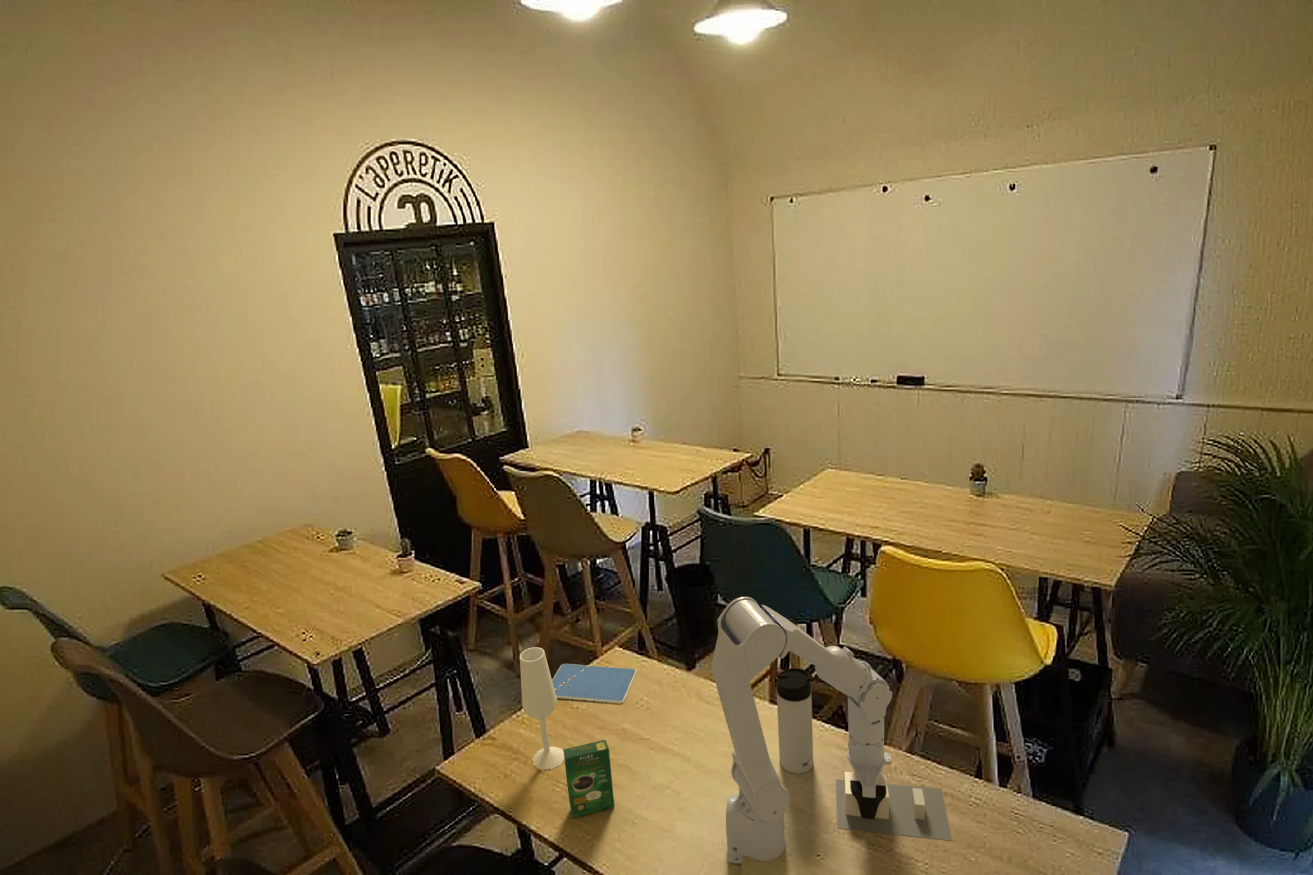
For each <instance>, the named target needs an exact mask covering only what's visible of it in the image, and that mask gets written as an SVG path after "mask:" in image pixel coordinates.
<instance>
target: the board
mask: <svg viewBox="0 0 1313 875" xmlns="http://www.w3.org/2000/svg"><path fill="white" fill-rule="evenodd" d="M887 785H888V793H889V819H881V818H875V819H866V818H862V817H861V816H852V815H846V806H845V779H839V778H835V797H836V802H835V803H836V829H840V830H841V829H842V830H848V831H849V830H850V831H857V832H858V831H859V832H867V833H875V834H878V833H879V834H886V835H895V836H903V837H914V838H924V839H931V840H932V839H933V840H938V841H939V840H940V841H941V840H942V841H949V842H952V841H953V839H952V838H953V837H952V833H951V828H950V823H949V819H948V814H947V810H946V804H945V799H944V795H943V791H942V788H936V787H935V788H934V787H925V786H924V787H923V786H914V785H913V786H912V785H903V784H893V783H887Z"/></svg>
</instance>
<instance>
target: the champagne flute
mask: <svg viewBox="0 0 1313 875" xmlns="http://www.w3.org/2000/svg"><path fill="white" fill-rule="evenodd" d="M546 656H547V655H546V653H545V650H544V648H542V647H537V646H536V647H529V648H526V649H525V650H523V651H522V652H520V654H519V667H520V686H521V687H520V688H521V703H522V704H521V705H522V710H523V711H524V713H525V714H526V715H527V716H529V718H532V719H535V720H538V721H539V727H540V732H541V739H542V744H543V745H542V748H541V749H540V750H539V749H538V750H537V751H536V752H537V753H536V752H535V753H536V754H535V753H534V754H535V755H534V754H533V756H534V757H533V756H532V758H533V759H531V761H532V760H533V765H535V766H537V768H538V767H539V769H540V768H541V769H549V768H550V769H551V770H553V768H554V769H556V768H558V767H559V766H560V765H561V764H562V763H563V762H564V761H565V759H564V752H563V751H564V749H562V748H560V747H558V748H557V746H550V741H549V735H548V734H549V733H548V729H547V723H546V722H547V721H546V718H548V717H549V716H550V715H551V714H552V713H553V711H554V710H555V708H556V706H557V705H558V704H557V703H558V702H557V701H558V698H556V694H555V690H554V686H553V682H552V679H553V678H552V676H551V672H550V668H549V664H548V660H547V657H546ZM533 765H532V766H533ZM558 765H559V766H558ZM557 766H558V767H557ZM555 767H556V768H555Z"/></svg>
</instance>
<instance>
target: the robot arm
mask: <svg viewBox="0 0 1313 875" xmlns="http://www.w3.org/2000/svg"><path fill="white" fill-rule="evenodd" d="M761 607H762V608H761ZM717 628H718V629H717V630H718V631H717V632H718V635H717V638H716V643H715V647H714V652H713V656H712V661H711V672H712V676H713V679H714V683H715V686H716V690H717V692H718V696H719V697H718V698H719V700H720V703H721V707H722V711H723V714H724V718H725V722H726V724H727V729H728V732H729V736H730V739H731V743H732V747H733V751H732V752H731V757H732V766H731V769H730V770H731V771H730V772H731V773H730V774H731V777H732V779H733V780H734V782H735V783H736V784H737V786H738V790H739V792H738V794H729V795H728V797H727V800H726V808H725V810H726V811H725V834H726V846H727V862H728V863H730V864H731V863H732V864H739V865H742V864H743V858H744V856H745V857H748V858H751V859H753V860H756V861H760V862H761V861H762V862H769V861H773V860H775V859H778V858H779V856H781V855H782V854H783V852H784V850H785V848H786V837H785V836H786V835H785V834H786V832H785V813H786V812H787V811H788V809H789V807H790V804H791V794H790V793H789V790H788V789H786V787H785V786H784V785H783V784H782V782H781V780H780V776H779V774H778V773H777V771H776V769H775V766H774V765H773V762H772V760H771V757H770V755H769V750H768V747H767V743H766V740H765V736H764V732H763V728H762V725H761V720H760V716H759V713H758V712H759V711H758V709H757V705H756V702H755V698H754V693H753V689H752V686H751V682H750V681H752V680H754V678H755V677H757V676H758V675H760V673H761V672H763V671H764V670H765V669H766V668H767V667H768V666H770V664H771V663H773V662H774V661H775V660H776V659H777V658H779V659H784V658H785V657H786V656H787V654H788V653H789V652H791V653H792V654H794V655H796V656H798V657H800V658H801V659H803V660H804V661H806V662H808V663H810V664H812V665H813V666H814V668H815V673H816V674H817V676H818V677H819V679H821V680H822V681H824V682H825V683H826V684H828V685H830V686H831V687H833V688H834V689H836V690H837V691H839V692H841V693H842V694H844V695H845V696H847V707H848V708H847V713H848V714H847V715H848V718H847V719H848V724H847V725H848V744H847V745H848V746H847V747H848V749H847V760H848V762H849V764H850V766H851V767H852V768H851V769H852V770H853V771H854V773H856V775H857V777H858V779H859V781H854V780H850V789H851V792H852V795H853V796H854V797H855V798H856V800H857V803H858V806H859V810H860V814H861V817H862V818H866V819H875V816H876V813H877V809H878V806H879V804H880V802H881V801H882V800H883V799H884V798H885V796H886V786H882V785H876V784H877V781H878V779H879V776H880V775H882V774H881V773H882V772H883V769H884V767H885V766H886V765H891V764H892V754H891V753H889V752H886V751H885V716H886V715H887V708H888V706H889V704H890V702H891V701H892V698H893V691H891V690H890V687H889V684H888V682H887V681H886V680H885V679H884V678H882V677H881V675H879V674H878V673H877V672H876V671H875V670H874V669H873V668H872V666H871V665H870V664H869V663H868V662H867V661H865V660H858V659H857V658H855V657H854V656H855V654H854V652H853V651H851V650H850V649H849V648H848V647H846V646H843V648H841V647H839V646H836V645H830V646H827V647H825V646H824V645H822V644H821V643H820V642H819V641H817V640H816V639H815V638H813V637H812V636H810V634H808V633H806V632H805V631H804V630H802V629H801V628H800V627H798V626H797V625H796V624H794V622H791V621H790V619H787V618H786V617H784V616H783V615H781V614H780V613H778V612H777V611H776V610H773V609H772V608H770V607H768V605H764V604H761V606H760V605H759V603H758V602H757V601H756V600H755V599H754V598H752V597H750V596H740V597H737V598H735V599H734V600H731V601H730V602H729V603H728V605H726V607H725V608H724V609H723V611H722V612H721V614H720V615H719V617H718V618H717Z"/></svg>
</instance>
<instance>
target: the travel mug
mask: <svg viewBox="0 0 1313 875" xmlns="http://www.w3.org/2000/svg"><path fill="white" fill-rule="evenodd" d="M813 682H814V677H813V674H812V672H808V671H807V670H805V669H803V668H797V667H792V668H788V669H783V671H781V672H779V674H778V675H777V678H776V706H777V707H776V708H777V726H778V727H777V728H778V729H777V730H778V748H779V749H778V751H779V752H778V753H779V764H780V767H781V768H782V769H783V770H784V771H786V772H787V773H790V774H794V775H803V774H807V773H808V772H810V771H811V769H813V766H814V742H813V741H814V737H813V707H812V706H813V702H812V684H811V683H813Z"/></svg>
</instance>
